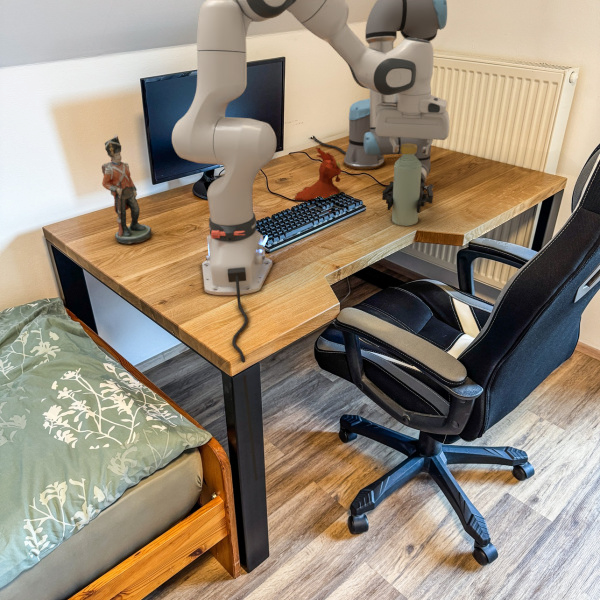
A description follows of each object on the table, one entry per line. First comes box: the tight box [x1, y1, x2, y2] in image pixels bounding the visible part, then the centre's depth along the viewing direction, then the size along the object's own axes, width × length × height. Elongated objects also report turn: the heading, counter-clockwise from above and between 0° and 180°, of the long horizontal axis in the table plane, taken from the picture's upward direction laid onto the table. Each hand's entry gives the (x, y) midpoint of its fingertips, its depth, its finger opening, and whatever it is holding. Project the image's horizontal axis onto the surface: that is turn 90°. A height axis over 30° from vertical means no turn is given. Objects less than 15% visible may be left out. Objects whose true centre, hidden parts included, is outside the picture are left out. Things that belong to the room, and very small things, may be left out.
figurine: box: [101, 134, 152, 245], centre depth 160 cm, size 11×11×30 cm
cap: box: [401, 143, 417, 155], centre depth 160 cm, size 5×5×2 cm
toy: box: [294, 147, 342, 202], centre depth 188 cm, size 13×18×15 cm
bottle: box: [391, 154, 422, 227], centre depth 166 cm, size 8×8×22 cm
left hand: (410, 153), depth 160 cm, fingers open, 7 cm apart
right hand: (403, 207), depth 164 cm, fingers closed on bottle, 8 cm apart
